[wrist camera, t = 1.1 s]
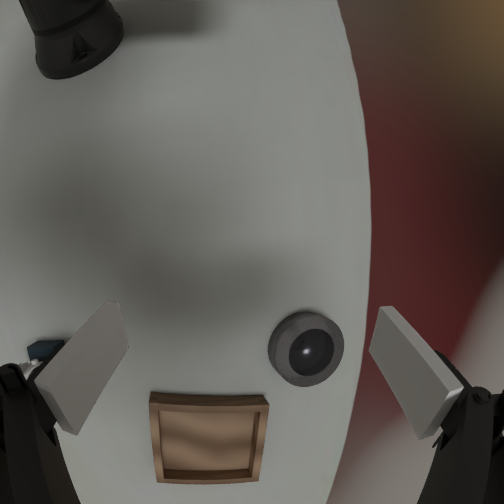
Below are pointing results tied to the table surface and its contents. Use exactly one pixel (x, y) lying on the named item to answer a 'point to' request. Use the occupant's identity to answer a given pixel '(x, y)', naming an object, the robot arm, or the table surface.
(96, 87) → the table surface
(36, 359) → the watch
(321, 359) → the round socket
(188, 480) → the rect wooden tray
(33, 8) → the robot arm
